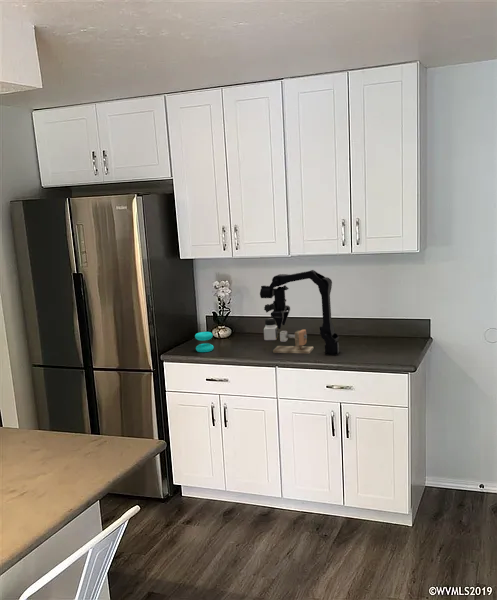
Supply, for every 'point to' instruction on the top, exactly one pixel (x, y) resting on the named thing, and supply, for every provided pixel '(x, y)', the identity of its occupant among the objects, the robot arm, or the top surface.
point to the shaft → (287, 336)
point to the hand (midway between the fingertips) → (281, 326)
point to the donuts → (204, 336)
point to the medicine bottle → (270, 329)
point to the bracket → (293, 347)
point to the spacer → (302, 337)
